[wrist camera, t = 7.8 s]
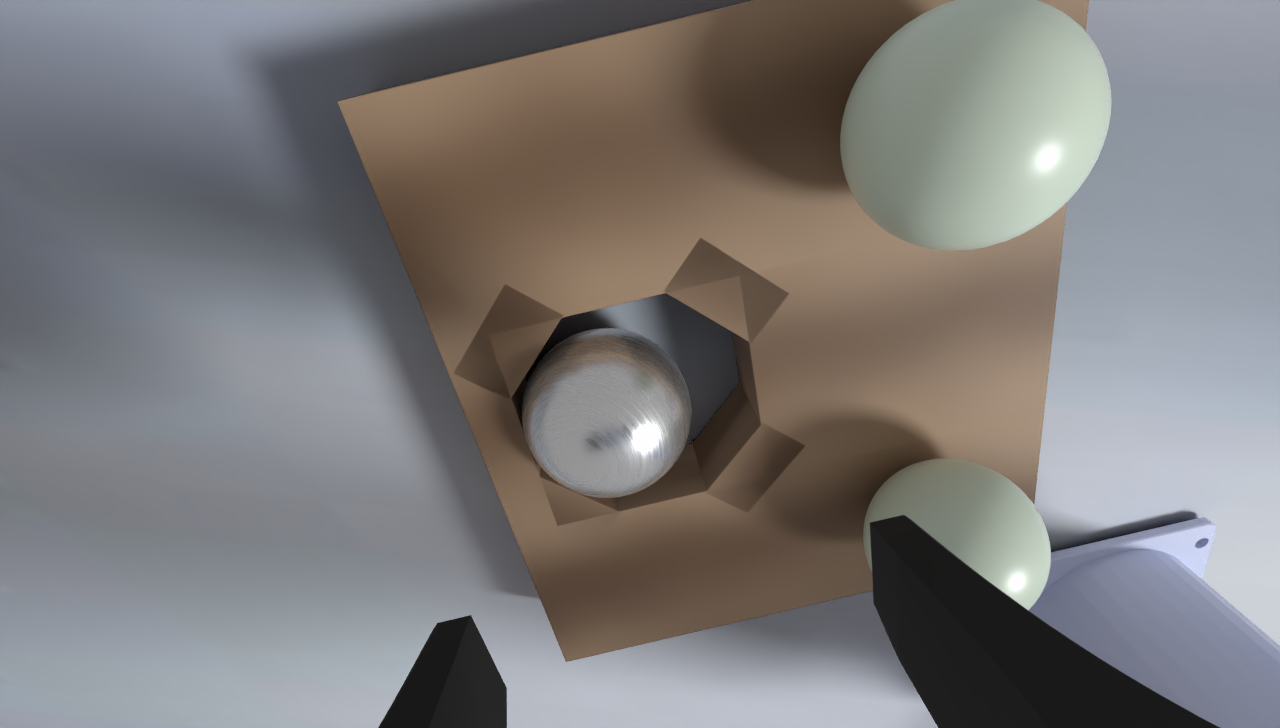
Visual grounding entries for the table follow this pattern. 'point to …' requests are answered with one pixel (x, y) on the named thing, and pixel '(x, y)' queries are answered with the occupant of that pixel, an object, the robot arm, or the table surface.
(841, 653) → the table surface
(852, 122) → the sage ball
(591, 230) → the brown flat wooden board
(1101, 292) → the table surface
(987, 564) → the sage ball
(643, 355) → the steel ball
